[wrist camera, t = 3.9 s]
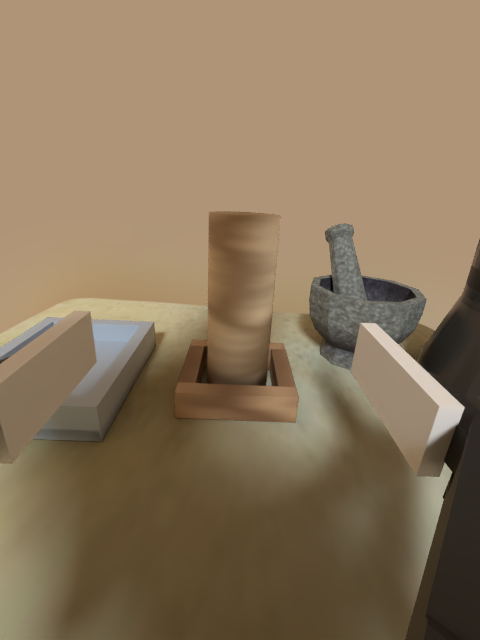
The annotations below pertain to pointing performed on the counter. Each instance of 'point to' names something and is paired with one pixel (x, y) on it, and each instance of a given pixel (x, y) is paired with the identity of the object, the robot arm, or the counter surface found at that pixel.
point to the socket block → (236, 391)
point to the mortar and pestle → (357, 302)
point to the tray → (95, 377)
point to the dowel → (240, 295)
